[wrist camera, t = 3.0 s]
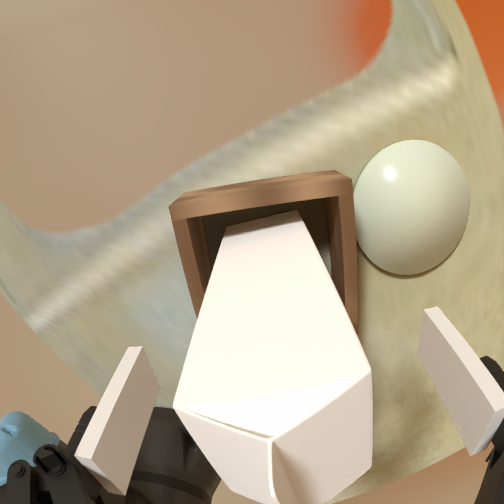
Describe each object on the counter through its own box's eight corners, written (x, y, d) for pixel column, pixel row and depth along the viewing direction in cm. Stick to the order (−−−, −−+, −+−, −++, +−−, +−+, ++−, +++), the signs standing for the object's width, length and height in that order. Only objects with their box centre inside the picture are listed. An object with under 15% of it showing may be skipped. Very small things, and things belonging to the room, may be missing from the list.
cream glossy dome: (353, 281, 28) (355, 284, 27) (343, 144, 24) (345, 144, 23) (462, 261, 27) (465, 263, 26) (464, 138, 23) (468, 139, 22)
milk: (245, 289, 28) (222, 554, 8) (225, 225, 26) (140, 493, 6) (313, 274, 28) (388, 532, 7) (298, 207, 26) (408, 462, 5)
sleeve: (214, 320, 29) (207, 354, 25) (184, 192, 25) (168, 206, 21) (343, 302, 29) (357, 333, 24) (334, 170, 24) (351, 178, 20)
